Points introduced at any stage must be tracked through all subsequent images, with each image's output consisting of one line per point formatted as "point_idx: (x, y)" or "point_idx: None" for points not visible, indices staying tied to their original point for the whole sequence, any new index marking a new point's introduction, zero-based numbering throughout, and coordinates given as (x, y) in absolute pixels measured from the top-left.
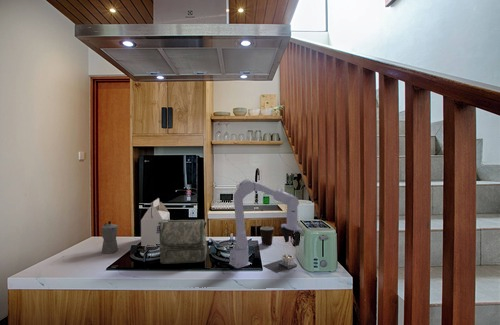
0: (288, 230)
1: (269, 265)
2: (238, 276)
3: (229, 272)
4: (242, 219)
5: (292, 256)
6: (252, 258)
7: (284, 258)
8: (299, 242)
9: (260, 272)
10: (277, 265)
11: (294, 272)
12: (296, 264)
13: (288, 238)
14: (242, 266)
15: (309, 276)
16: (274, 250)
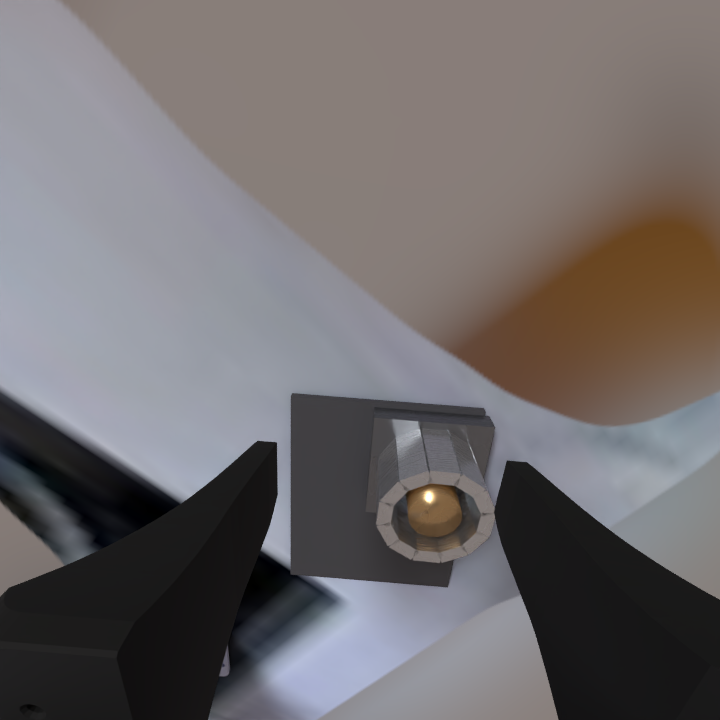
0: (173, 655)
1: (320, 540)
2: (317, 706)
3: (245, 706)
4: None
5: (470, 489)
6: (118, 522)
7: (434, 557)
8: (557, 495)
9: (357, 622)
10: (360, 505)
11: None
12: (493, 431)
13: (259, 482)
14: (226, 650)
15: (661, 474)
16: (12, 240)
